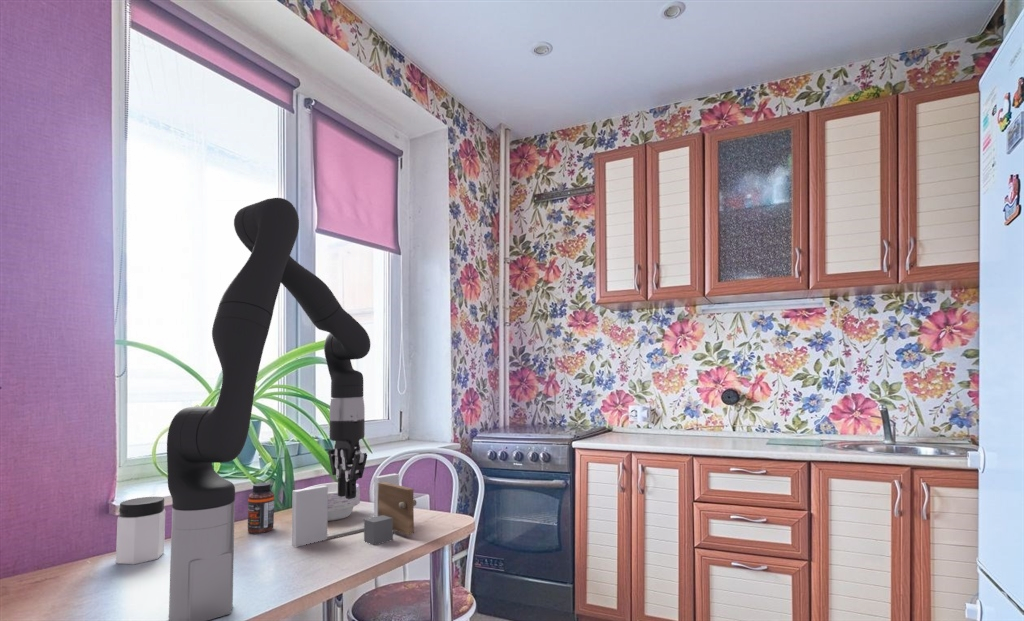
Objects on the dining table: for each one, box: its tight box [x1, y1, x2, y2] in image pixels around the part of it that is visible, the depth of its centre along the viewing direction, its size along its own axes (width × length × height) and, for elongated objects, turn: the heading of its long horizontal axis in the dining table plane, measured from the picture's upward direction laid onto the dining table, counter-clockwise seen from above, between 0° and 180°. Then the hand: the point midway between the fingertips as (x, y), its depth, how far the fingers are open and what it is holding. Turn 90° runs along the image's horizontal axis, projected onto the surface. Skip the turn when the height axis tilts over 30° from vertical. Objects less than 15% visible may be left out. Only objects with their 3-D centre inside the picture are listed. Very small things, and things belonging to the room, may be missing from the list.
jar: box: [115, 496, 166, 565], centre depth 125 cm, size 9×8×12 cm
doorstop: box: [363, 515, 394, 546], centre depth 133 cm, size 4×5×5 cm
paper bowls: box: [306, 481, 361, 522], centre depth 156 cm, size 15×15×8 cm
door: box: [378, 482, 418, 535], centre depth 140 cm, size 4×14×10 cm, turn 44°
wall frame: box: [291, 473, 400, 548], centre depth 140 cm, size 2×27×12 cm, turn 134°
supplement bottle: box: [247, 482, 275, 534], centre depth 144 cm, size 6×6×11 cm
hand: (346, 496), depth 128 cm, fingers open, 3 cm apart
